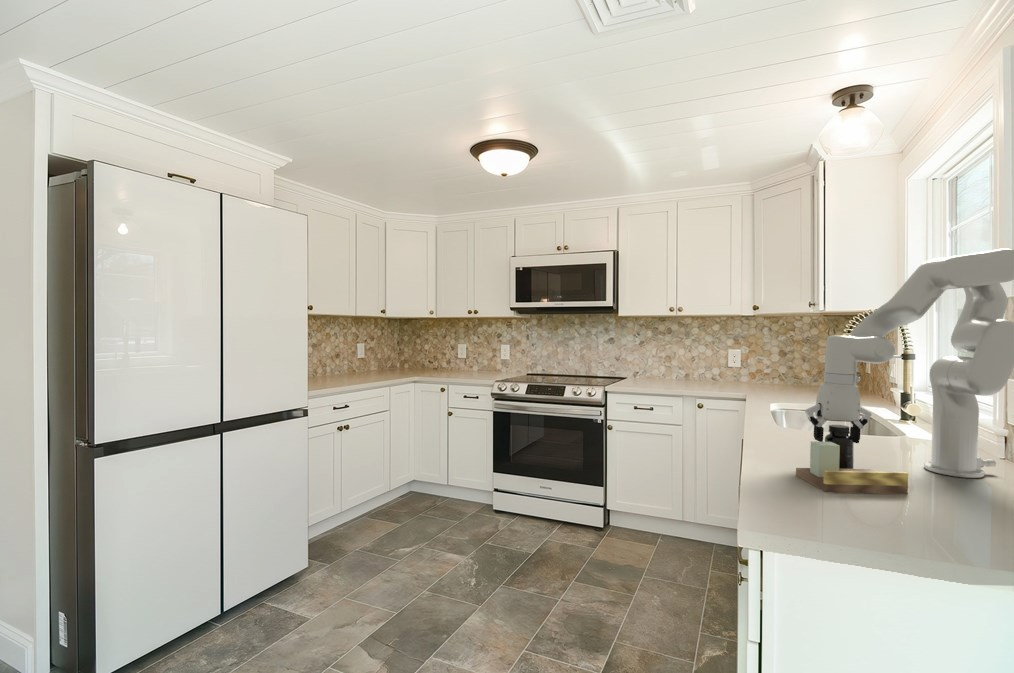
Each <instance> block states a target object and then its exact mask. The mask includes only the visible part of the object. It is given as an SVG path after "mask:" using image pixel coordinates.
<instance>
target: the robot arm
mask: <svg viewBox="0 0 1014 673" xmlns="http://www.w3.org/2000/svg"><path fill="white" fill-rule="evenodd" d="M1011 281H1014V249H1012V248H999V249H994V250H987V251H980V252H974V253H969V254H961V255H953V256H947V257H938V258H933V259H930V260H926V261H924V262H923V263H921V264H920V265H919V266H918V267H917V268H916V269H915V271H914V272H913V273H912V274H911V275H910V276H909V277H908V279H907V280H906V281H905V282H904V284H903V285H901V287H900V288H899V289H898V290H897V292H896V293H895V294H894V295H893V296H892V297H891V298H890V299H889V300H888V301H886V302H885V303H884V304H882V305H881V306H880V307H877V309H875V310H874V311H873V312H872V313H870V314H868V315H867V316H866V317H864V318H863V319H862V320H861V321H860V322H859V323H858V324H857V325H856V327H854V329H853V330H852V331H851V332H850V333H849V334H848V335H841V334H840V335H839V334H837V335H836V334H835V335H834V334H832V335H829V336H827V338H826V340H825V357H824V358H825V359H824V374H823V383H820V384H819V388H818V391H817V394H816V401H815V405H813V406H811V407H808V408H806V409H805V410H804V412H805V414H806V416H807V420H808V421H809V422H810V423H811V424H812V425H813V437H814V440H816V442H824V432H825V430H824V429H825V428H824V427H823V425H824V424H825V423H826V422H827V421H828V422H829V421H830V422H846V423H850V424H851V426H850V427H849V432H850V433H849V436H850V437H852V439H853V441H854V444H859V443H860V439H861V430H862V429H863V428H864V426H866V425H867V423H868V422H869V419H871V417H872V413H871V412H870V411H868V410H866V409H864V408H863V407H861V396H860V394H861V393H860V389H859V386H858V385H857V382H861V380H862V378H861V377H860V376H858V374H857V370H858V362H862V363H866V364H867V363H869V364H875V365H876V364H877V365H878V364H884V363H887V362H889V361H890V360H891V359H892V358H894V357H895V353H896V348H895V345H894V343H893V342H892V341H891V340H890V339H888V338H886V337H885V336H886V335H888V334H889V333H890V332H893V331H894V330H896V329H899V328H900V327H903V326H906V325H909V324H911V323H914V322H916V321H918V320H920V319H921V318H922V317H924V316H925V314H926V313H927V312H928V311H929V310H930V308H932V306H933V305H934V304H935V302H936V301H937V300H938V299H939V298H940V297H941V296H942V295H943V294H944V293H945V291H947V290H955V289H963V290H964V292H965V301H964V305H963V307H962V310H961V313H960V315H959V317H958V319H957V321H956V324H955V327H954V328H953V331H952V334H951V336H950V337H951V338H950V343H951V346H952V347H953V348H954V349H955V350H956V351H959V352H960V353H961V352H962V353H964V354H972V357H970V356H959V355H958V356H957V355H948V356H944V357H941V358H939V359H937V360H935V361H934V362H933V363H932V365H931V367H930V369H929V381H930V386H931V390H932V391H931V392H932V419H931V420H932V425H931V427H932V428H931V456H930V457H931V459H930V461H926V462H924V463H923V468H924V469H926V470H928V471H930V472H933V473H936V474H940V475H945V476H950V477H957V478H965V479H966V478H968V479H977V478H979V479H980V478H983V477H985V471H984V470H983V469H982V468H984V467H987V468H988V467H989V468H990V467H992V468H993V467H996V465H997V462H996V460H994V459H982V457H979V456H978V445H979V443H978V442H979V418H980V417H979V416H980V407H979V402H978V399H977V397H976V396H981V397H982V396H983V397H987V396H992V395H995V394H997V393H998V392H1000V391H1001V390H1002V389H1004V387H1005V386H1006V385H1007V383H1008V381H1009V378H1010V376H1011V374H1012V372H1013V370H1014V321H1011V320H1008V319H1005V318H1004V317H1005V313H1006V310H1007V307H1008V296H1007V293H1006V291H1005V289H1004V287H1003V286H1002V283H1007V282H1011ZM861 415H862V416H861Z"/></svg>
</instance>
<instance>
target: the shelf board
mask: <svg viewBox="0 0 1014 673" xmlns="http://www.w3.org/2000/svg"><path fill="white" fill-rule="evenodd" d="M796 475H797V476H796ZM795 476H796V477H798V478H800V479H802V480H803V479H804V480H803V481H805V482H806V483H808V482H809V484H811V485H812V486H814V487H815V488H817V489H819V490H820V489H821V491H822V492H824V493H826V492H834V494H835V493H836V494H837V493H838V494H840V493H841V494H879V495H880V494H882V495H884V494H885V495H886V494H887V495H897V494H898V495H908V494H909V493H908V492H909V473H908V472H906V471H875V470H873V469H870V468H853V469H839V471H824V477H818V476H816V475H814V474H812V473H810V467H796V468H795Z"/></svg>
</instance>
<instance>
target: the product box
mask: <svg viewBox="0 0 1014 673" xmlns="http://www.w3.org/2000/svg"><path fill="white" fill-rule="evenodd" d="M809 452H810V454H809V455H810V457H809V468H810V473H812V474H814V475H816V476H818V477H824V471H839V456H840V445H837V444H835V443H832V442H825V441H822V442H820V441H810V451H809Z"/></svg>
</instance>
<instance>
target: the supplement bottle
mask: <svg viewBox="0 0 1014 673" xmlns="http://www.w3.org/2000/svg"><path fill="white" fill-rule="evenodd" d="M824 442H832V443H835V444H837V445H840V456H839V469H854V444H855V443H854V441H853V439H852V437H850V426H848V425H845V424H844V425H842V424H829V425H828V434H826V435H825V436H824Z"/></svg>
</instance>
